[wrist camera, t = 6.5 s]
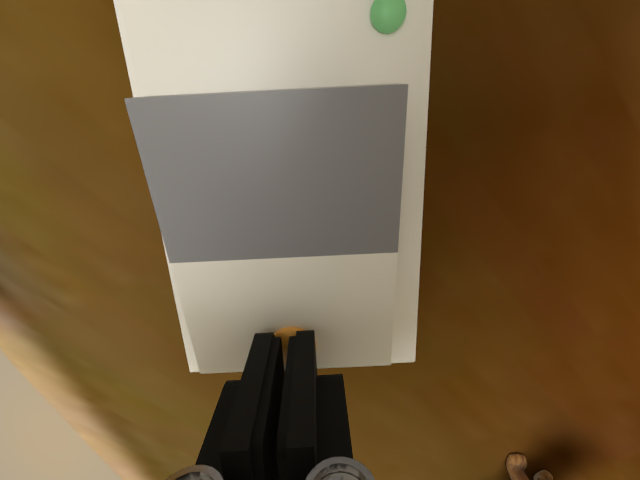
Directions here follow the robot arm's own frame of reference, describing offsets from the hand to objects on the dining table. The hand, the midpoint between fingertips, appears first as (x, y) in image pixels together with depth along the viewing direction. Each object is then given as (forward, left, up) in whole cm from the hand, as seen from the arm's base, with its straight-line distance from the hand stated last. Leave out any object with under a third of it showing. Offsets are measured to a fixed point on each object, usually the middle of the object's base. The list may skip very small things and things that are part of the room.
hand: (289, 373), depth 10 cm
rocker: (0, -4, -1) cm, 4 cm away
